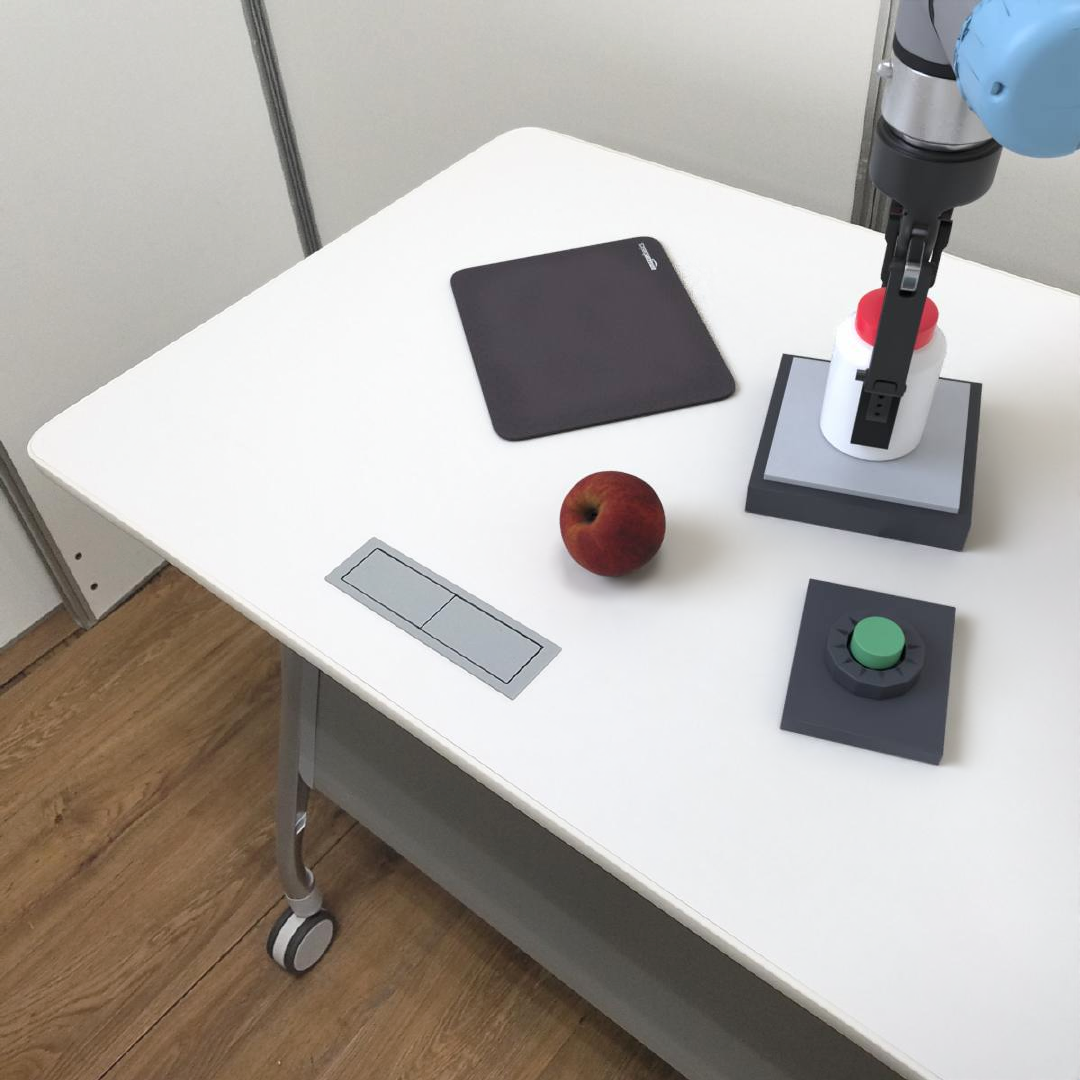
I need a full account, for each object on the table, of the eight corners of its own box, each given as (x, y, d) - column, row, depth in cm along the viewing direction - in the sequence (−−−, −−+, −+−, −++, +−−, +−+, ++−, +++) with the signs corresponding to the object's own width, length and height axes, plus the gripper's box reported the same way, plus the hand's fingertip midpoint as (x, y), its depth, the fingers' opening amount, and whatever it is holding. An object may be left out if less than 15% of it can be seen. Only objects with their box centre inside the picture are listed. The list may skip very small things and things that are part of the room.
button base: (938, 766, 69) (949, 741, 67) (779, 729, 71) (784, 704, 69) (951, 619, 76) (961, 592, 74) (807, 589, 79) (812, 563, 77)
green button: (897, 674, 71) (902, 660, 69) (847, 663, 71) (851, 650, 70) (902, 635, 73) (907, 621, 71) (853, 625, 73) (857, 611, 72)
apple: (547, 536, 84) (541, 462, 78) (641, 508, 85) (643, 433, 79) (581, 608, 79) (578, 535, 73) (680, 577, 80) (685, 502, 74)
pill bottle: (900, 474, 81) (932, 358, 73) (803, 438, 84) (823, 323, 76) (937, 413, 85) (972, 296, 77) (843, 380, 88) (866, 265, 80)
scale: (961, 552, 80) (973, 521, 78) (744, 511, 84) (748, 480, 82) (974, 409, 90) (984, 377, 88) (779, 378, 94) (783, 347, 91)
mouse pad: (741, 395, 93) (742, 393, 92) (498, 444, 90) (497, 442, 90) (655, 234, 109) (655, 233, 109) (446, 273, 106) (446, 271, 106)
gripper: (895, 38, 73) (843, 316, 90) (857, 206, 60) (805, 492, 77) (1014, 48, 71) (937, 329, 88) (1001, 223, 58) (914, 511, 76)
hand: (875, 405), depth 83 cm, fingers closed on pill bottle, 8 cm apart
